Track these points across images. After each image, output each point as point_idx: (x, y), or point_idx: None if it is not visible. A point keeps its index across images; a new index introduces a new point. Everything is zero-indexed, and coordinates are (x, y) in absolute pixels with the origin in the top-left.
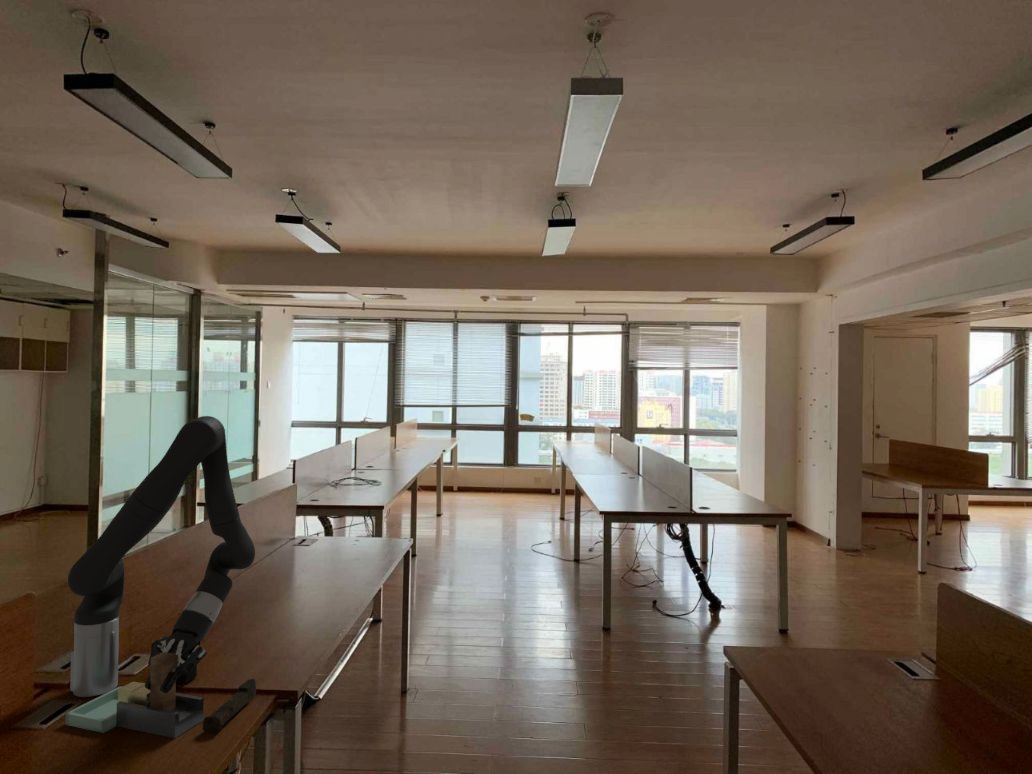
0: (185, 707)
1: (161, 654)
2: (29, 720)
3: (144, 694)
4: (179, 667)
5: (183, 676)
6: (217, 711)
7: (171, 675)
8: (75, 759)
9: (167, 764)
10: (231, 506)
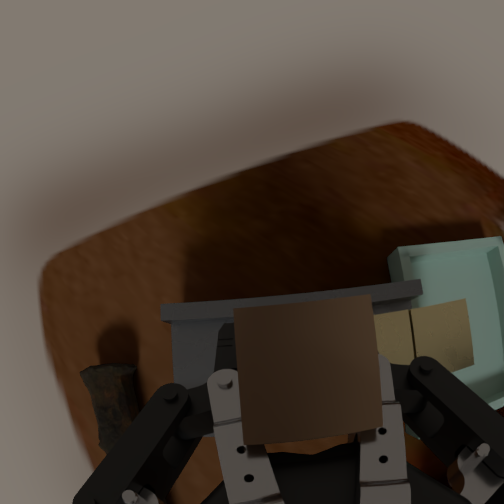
0: None
1: (352, 382)
2: None
3: None
4: (187, 396)
5: None
6: (109, 407)
7: (230, 367)
8: (325, 161)
9: (117, 225)
10: None
